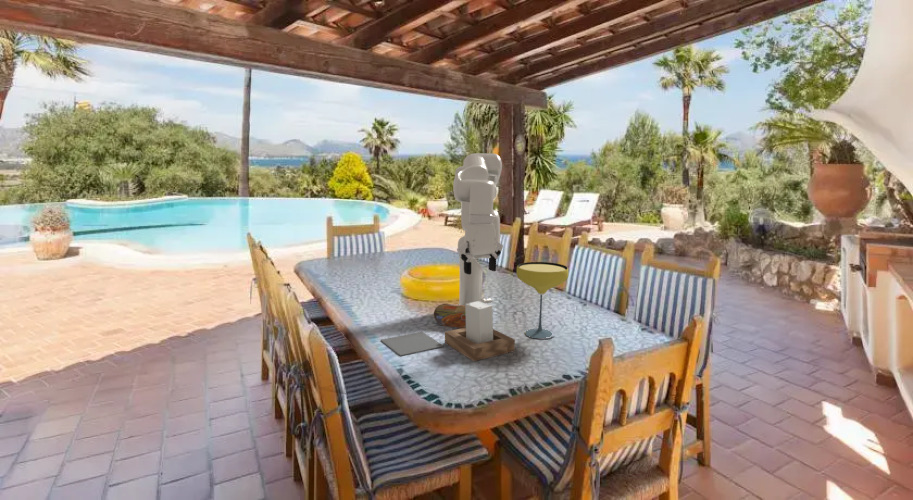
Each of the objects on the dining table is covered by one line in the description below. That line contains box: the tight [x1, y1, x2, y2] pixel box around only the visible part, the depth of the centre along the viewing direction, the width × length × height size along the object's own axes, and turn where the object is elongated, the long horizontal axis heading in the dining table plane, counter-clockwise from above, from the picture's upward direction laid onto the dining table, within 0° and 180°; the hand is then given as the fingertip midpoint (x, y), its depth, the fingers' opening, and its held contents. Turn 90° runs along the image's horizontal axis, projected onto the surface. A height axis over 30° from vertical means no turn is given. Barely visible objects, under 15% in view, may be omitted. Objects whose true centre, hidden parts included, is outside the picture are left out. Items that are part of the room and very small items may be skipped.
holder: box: [444, 327, 516, 362], centre depth 159 cm, size 16×18×4 cm
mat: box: [380, 331, 445, 357], centre depth 161 cm, size 16×16×1 cm
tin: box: [433, 303, 466, 329], centre depth 180 cm, size 15×3×8 cm, turn 70°
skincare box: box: [465, 301, 494, 344], centre depth 158 cm, size 8×6×15 cm
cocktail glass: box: [516, 261, 569, 339], centre depth 170 cm, size 18×18×25 cm
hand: (480, 272), depth 154 cm, fingers open, 9 cm apart
